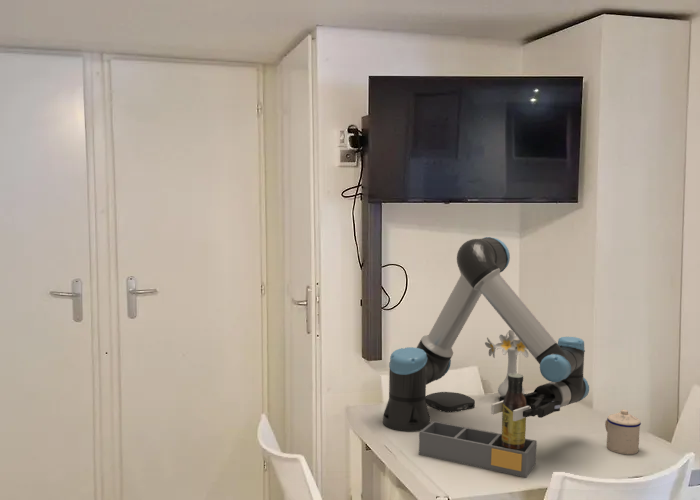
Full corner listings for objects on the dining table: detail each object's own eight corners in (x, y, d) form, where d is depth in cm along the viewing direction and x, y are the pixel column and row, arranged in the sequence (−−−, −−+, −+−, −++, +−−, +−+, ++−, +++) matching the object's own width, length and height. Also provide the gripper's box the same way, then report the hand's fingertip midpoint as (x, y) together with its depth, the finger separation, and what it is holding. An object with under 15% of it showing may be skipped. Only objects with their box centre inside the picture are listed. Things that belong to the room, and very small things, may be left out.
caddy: (418, 454, 188) (418, 432, 188) (432, 442, 198) (433, 421, 198) (525, 478, 174) (526, 453, 174) (535, 463, 184) (536, 440, 183)
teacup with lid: (646, 453, 193) (648, 414, 192) (619, 456, 190) (622, 416, 189) (618, 438, 204) (620, 401, 203) (592, 441, 201) (594, 403, 200)
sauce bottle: (500, 441, 185) (502, 370, 183) (523, 443, 184) (525, 371, 182) (502, 450, 178) (504, 377, 177) (526, 451, 177) (528, 378, 176)
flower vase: (477, 397, 243) (480, 329, 241) (519, 392, 250) (522, 326, 248) (499, 408, 231) (501, 337, 229) (542, 403, 238) (545, 333, 236)
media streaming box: (452, 397, 245) (452, 389, 244) (479, 408, 232) (479, 399, 232) (420, 402, 237) (420, 394, 237) (446, 414, 225) (446, 406, 224)
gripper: (581, 417, 185) (534, 436, 170) (522, 401, 199) (473, 417, 184) (582, 391, 185) (535, 407, 169) (523, 376, 199) (474, 390, 184)
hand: (503, 412), depth 177 cm, fingers closed on sauce bottle, 6 cm apart
